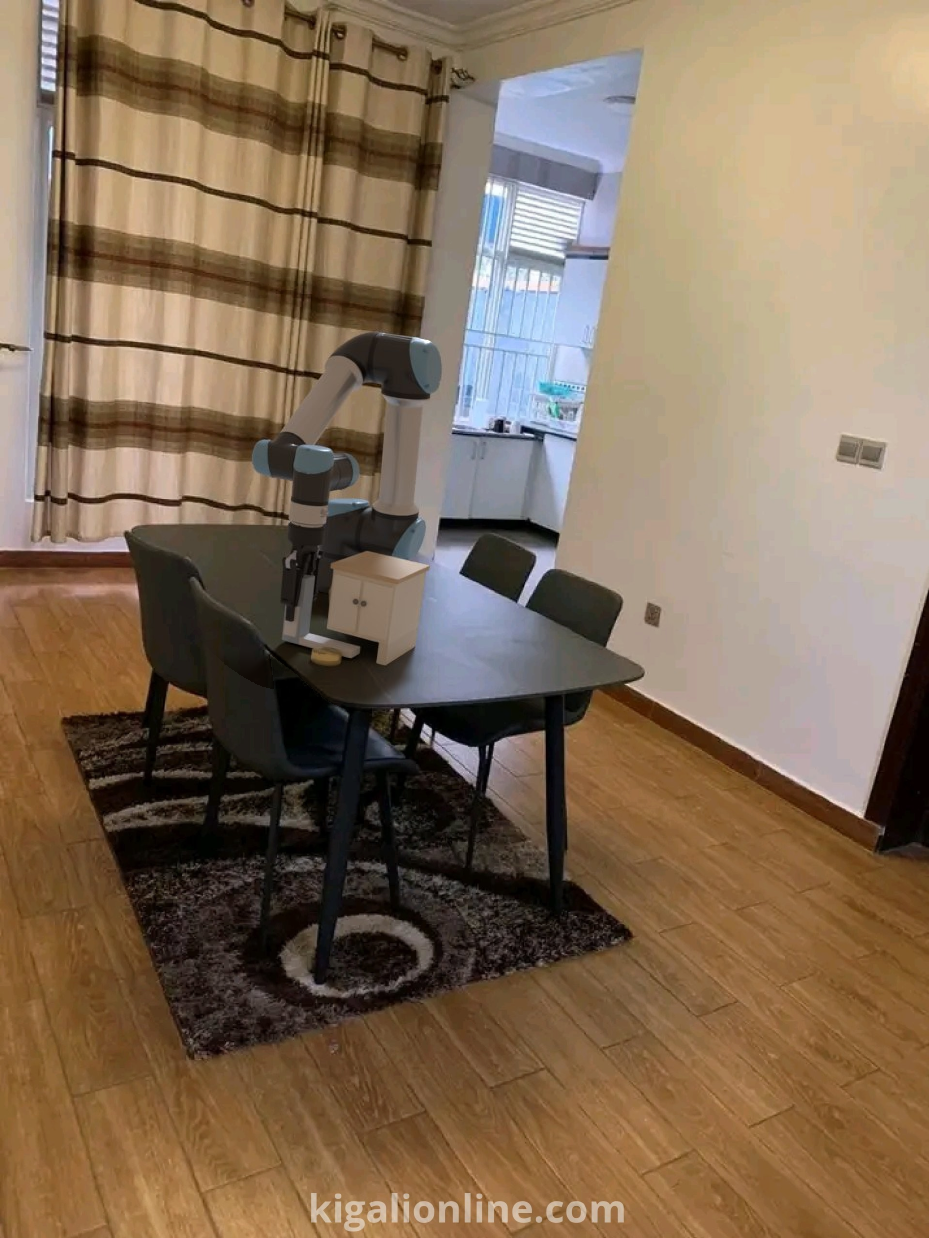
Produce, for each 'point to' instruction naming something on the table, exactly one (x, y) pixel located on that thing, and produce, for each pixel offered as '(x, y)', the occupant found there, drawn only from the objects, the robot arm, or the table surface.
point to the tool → (304, 624)
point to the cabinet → (378, 601)
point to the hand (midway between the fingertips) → (295, 632)
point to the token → (326, 656)
